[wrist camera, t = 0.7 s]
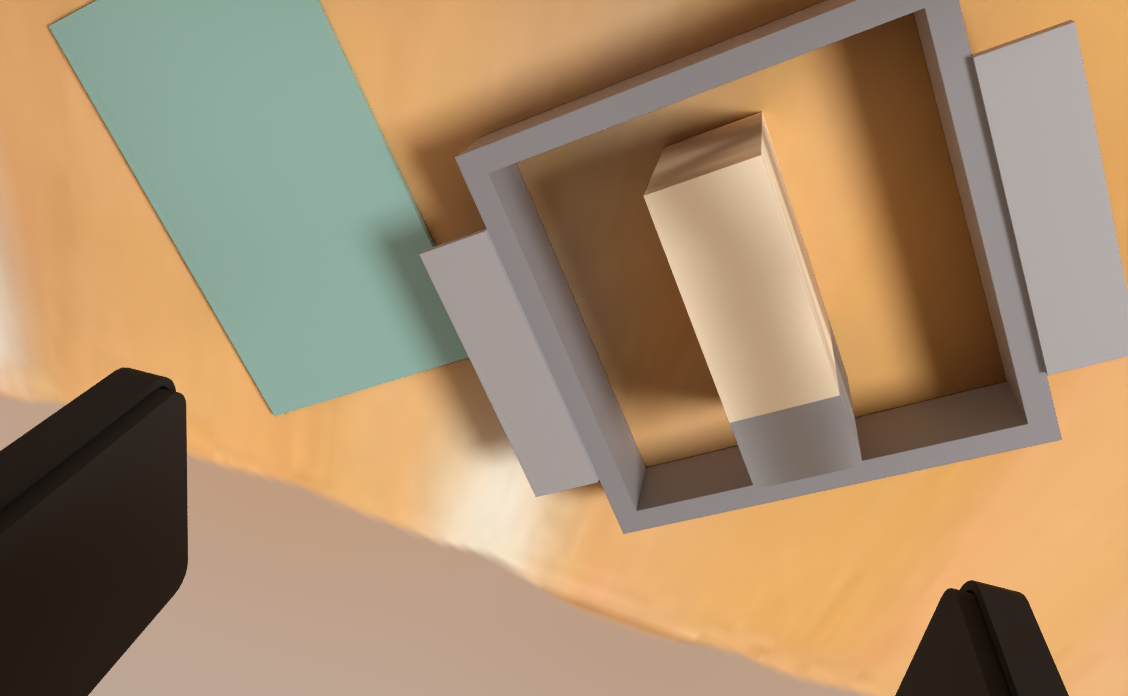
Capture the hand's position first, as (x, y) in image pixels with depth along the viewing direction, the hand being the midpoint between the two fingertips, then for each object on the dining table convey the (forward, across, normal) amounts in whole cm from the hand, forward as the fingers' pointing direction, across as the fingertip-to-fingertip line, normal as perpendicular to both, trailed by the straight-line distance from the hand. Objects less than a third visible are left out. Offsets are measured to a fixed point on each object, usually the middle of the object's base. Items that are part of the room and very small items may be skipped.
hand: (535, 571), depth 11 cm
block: (+28, -4, +5) cm, 28 cm away
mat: (+28, +17, +7) cm, 33 cm away
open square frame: (+28, -5, +5) cm, 28 cm away
